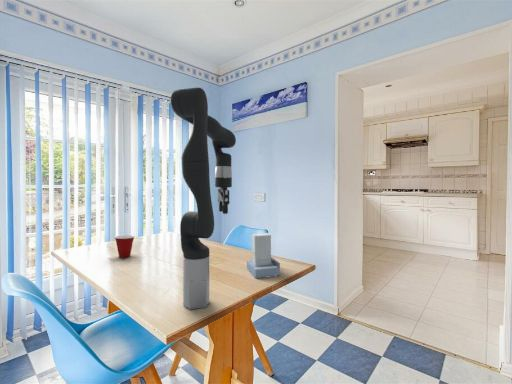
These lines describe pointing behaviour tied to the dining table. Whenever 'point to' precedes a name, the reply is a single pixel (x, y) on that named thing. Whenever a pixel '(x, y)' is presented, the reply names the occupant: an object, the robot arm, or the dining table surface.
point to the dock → (264, 269)
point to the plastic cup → (124, 245)
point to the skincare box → (261, 249)
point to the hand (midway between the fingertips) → (223, 212)
